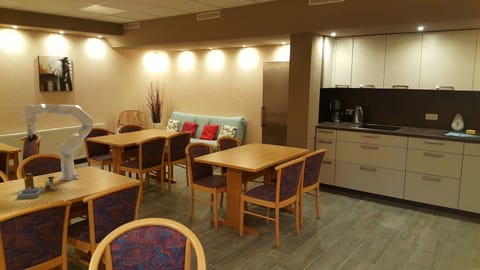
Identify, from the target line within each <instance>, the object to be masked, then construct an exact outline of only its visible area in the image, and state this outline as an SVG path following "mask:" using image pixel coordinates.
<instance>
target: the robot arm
mask: <svg viewBox="0 0 480 270" xmlns="http://www.w3.org/2000/svg"><path fill="white" fill-rule="evenodd" d="M23 109H24V118H25V123H26V134H27V142H28V143H32V142H34V141H36V140H37V134H38V127H37V114H39V115H42V114H55V115H58V116H59V115H60V116H73V117H74V118H75V119H76V120H77V121H78V122H80V123H81V124H82V125H81V126H80V127H79V128H78V129H77V130H76V131H74V133H73V134H71V135H70V137H69V139H67V140H66V141H64V142H62V143H61V144H60V146H59V153H60V165H61V166H60V167H61V177H60V181H63V182H64V181H72V180H76V179H77V177H80V176H81V174H80V173H76V172H75V166H74V165H75V164H74V151H76V149H78V148H79V147H80V146H81V145H82V143H83V140H84V139H85V138H86V137H88V135H89V134H90V133H91V132H92V129H93V127H94V121H93V118H92V116H91V115H89V114H88V113H86V112H85V111H84V110H83V109H82V108H81V107H80V105H76V104H72V105H71V104H53V103H52V104H51V103H40V104H25V105H24V107H23Z"/></svg>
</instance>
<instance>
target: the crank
mask: <svg viewBox="0 0 480 270" xmlns="http://www.w3.org/2000/svg"><path fill="white" fill-rule="evenodd" d="M47 179H48V180H47V181H45V188H50V187H52V185H53V184H54V179H56V177H55V176H48V177H47Z"/></svg>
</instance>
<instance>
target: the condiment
mask: <svg viewBox="0 0 480 270" xmlns="http://www.w3.org/2000/svg"><path fill="white" fill-rule="evenodd" d="M34 183H35V180H34V175H33V173H31V172H29V173H25V174H24V190H28V187H31V189H38V187H37V186H35V184H34Z"/></svg>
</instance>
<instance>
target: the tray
mask: <svg viewBox="0 0 480 270" xmlns="http://www.w3.org/2000/svg"><path fill="white" fill-rule="evenodd" d="M42 193H43V192H42V190H41V189H40V188H37V189H31V190H25V189H22V190H21V191H20V192H19V193H18V194H17V200H22V199H24V200H25V199H37V198H39V197H40V196H41V194H42Z"/></svg>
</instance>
